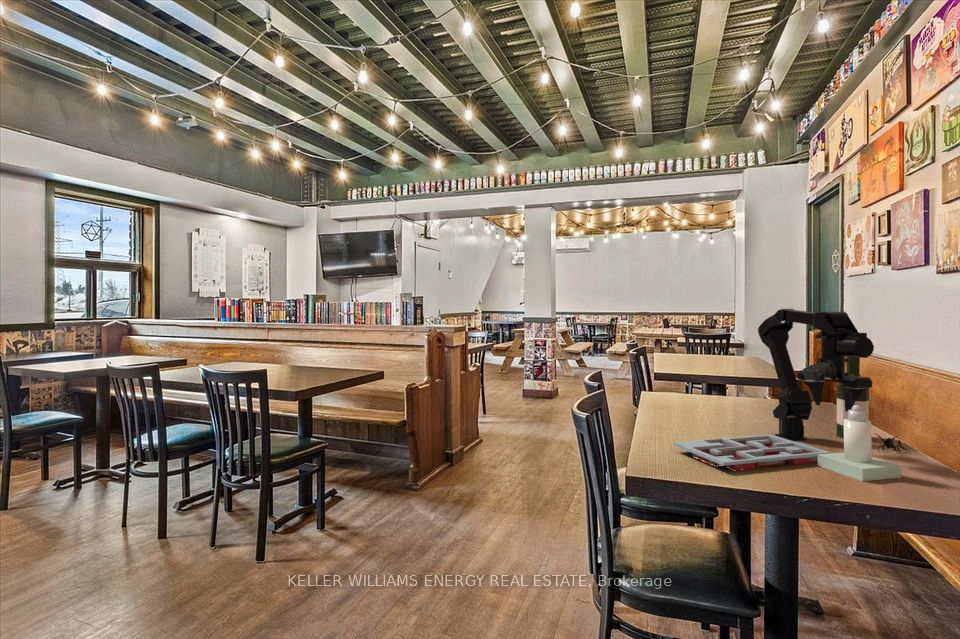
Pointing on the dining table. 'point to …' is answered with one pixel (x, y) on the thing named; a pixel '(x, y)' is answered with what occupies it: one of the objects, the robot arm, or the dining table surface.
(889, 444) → the creature
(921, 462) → the dining table surface
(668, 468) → the dining table surface
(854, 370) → the wine bottle
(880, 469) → the plinth
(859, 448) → the pepper mill
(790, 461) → the maze game
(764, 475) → the dining table surface
